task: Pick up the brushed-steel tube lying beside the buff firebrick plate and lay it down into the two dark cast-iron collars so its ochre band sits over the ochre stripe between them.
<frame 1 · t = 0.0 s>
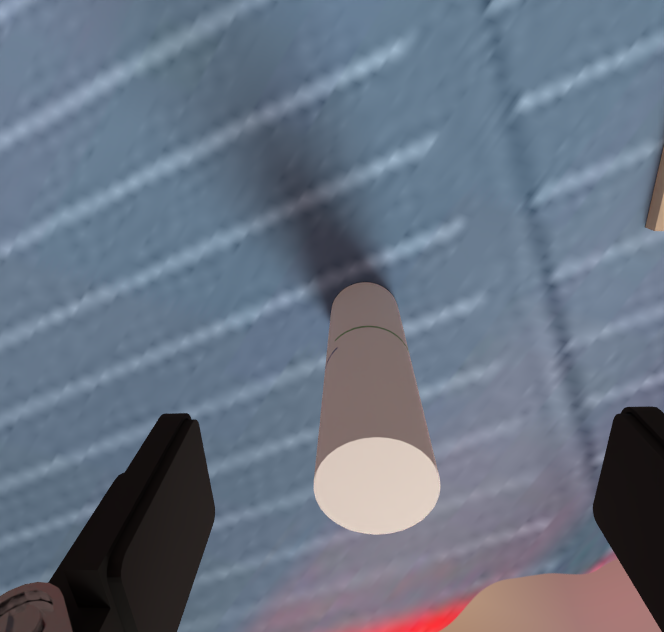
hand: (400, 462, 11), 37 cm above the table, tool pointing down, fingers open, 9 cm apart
cylindrical container: (364, 313, 49), on the table
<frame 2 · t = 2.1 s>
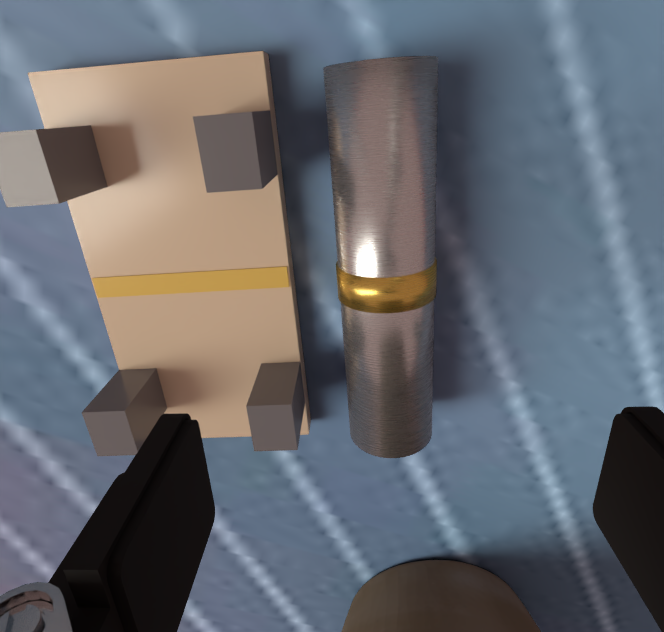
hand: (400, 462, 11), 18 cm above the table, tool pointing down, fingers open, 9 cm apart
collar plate: (198, 273, 28), on the table
tube: (383, 262, 27), on the table
plant pot: (429, 612, 40), on the table
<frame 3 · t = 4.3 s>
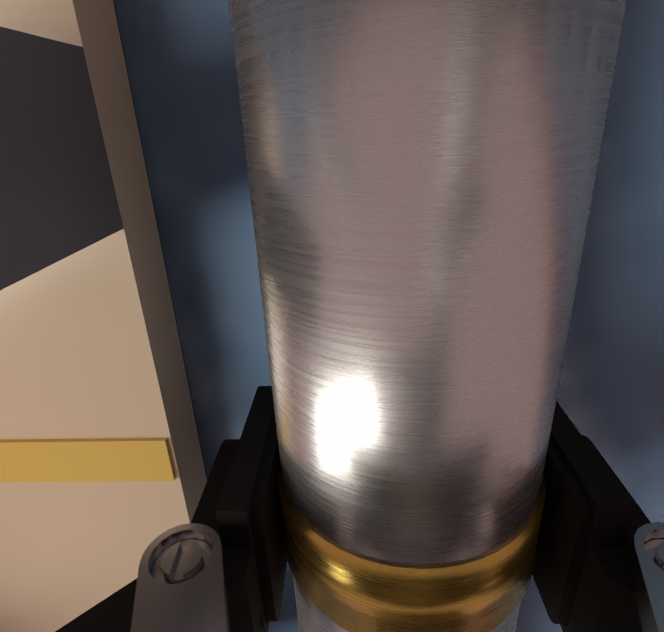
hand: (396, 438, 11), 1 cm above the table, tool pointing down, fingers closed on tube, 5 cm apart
tube: (395, 419, 12), on the table, touching gripper
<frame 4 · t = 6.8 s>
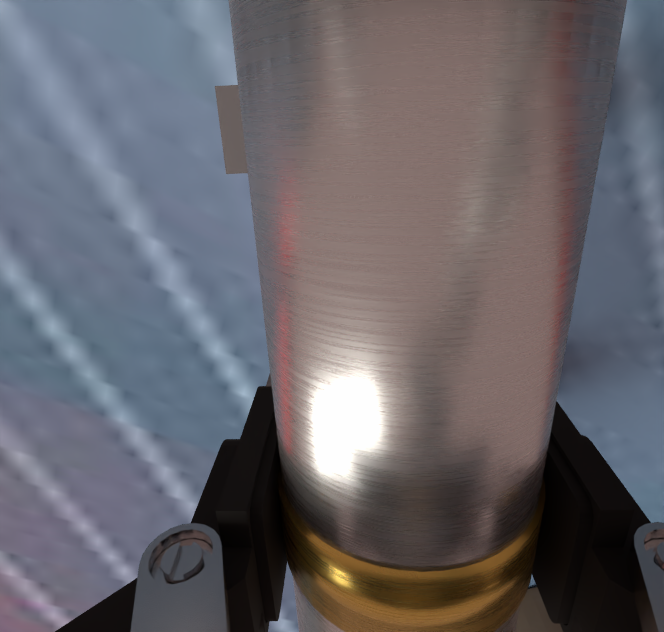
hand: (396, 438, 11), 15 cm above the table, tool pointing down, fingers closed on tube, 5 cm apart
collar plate: (371, 262, 25), on the table
tube: (395, 421, 12), point 14 cm above the table, touching gripper
when the fingers open (4 cm above the table, at t = 9.5 s): tube drops 1 cm, resting on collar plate.
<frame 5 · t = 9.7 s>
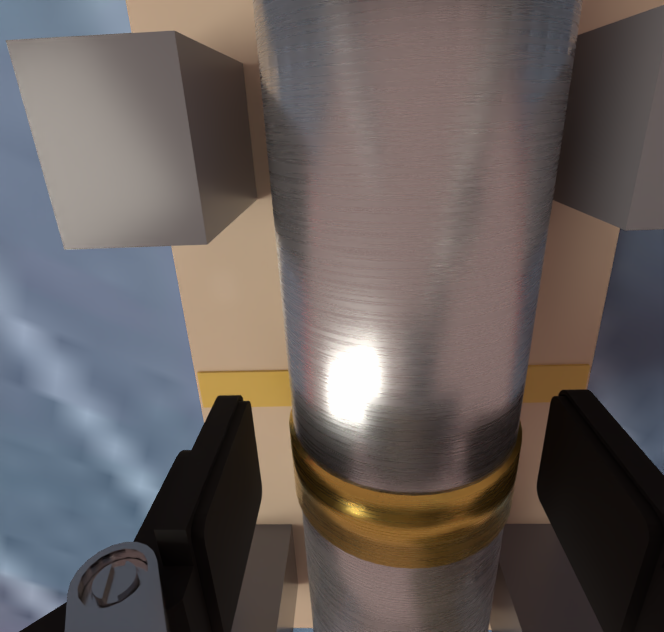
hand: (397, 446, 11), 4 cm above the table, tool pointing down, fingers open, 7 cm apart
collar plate: (385, 360, 15), on the table
tube: (393, 386, 13), point 2 cm above the table, touching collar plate
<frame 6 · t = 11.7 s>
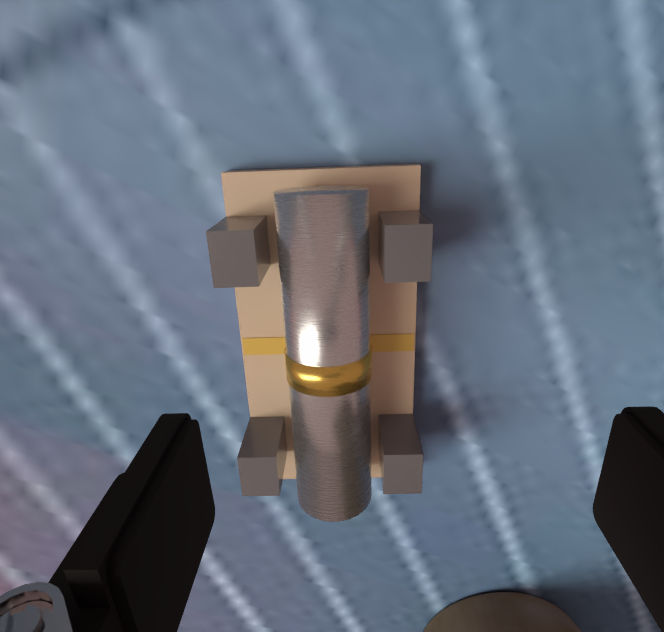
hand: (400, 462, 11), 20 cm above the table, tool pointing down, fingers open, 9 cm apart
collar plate: (328, 334, 32), on the table
tube: (329, 343, 30), point 2 cm above the table, touching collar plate
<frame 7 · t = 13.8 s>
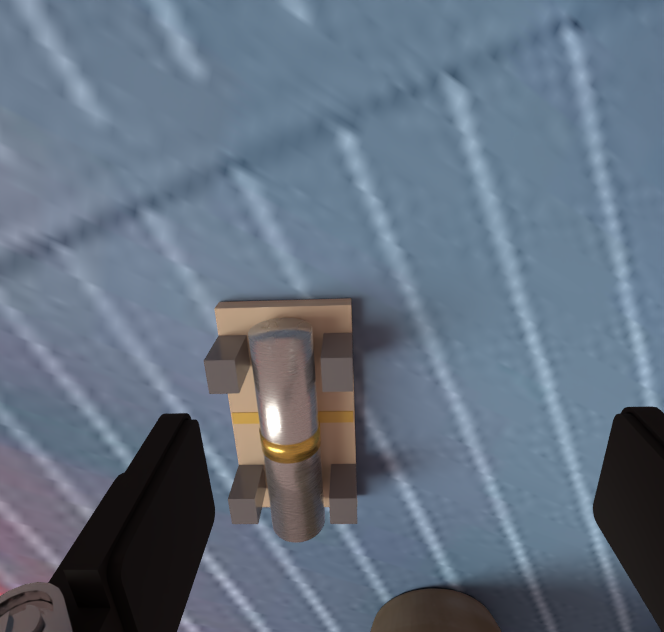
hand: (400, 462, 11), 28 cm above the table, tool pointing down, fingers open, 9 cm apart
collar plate: (294, 407, 44), on the table
tube: (293, 417, 42), point 2 cm above the table, touching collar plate
plant pot: (429, 625, 56), on the table
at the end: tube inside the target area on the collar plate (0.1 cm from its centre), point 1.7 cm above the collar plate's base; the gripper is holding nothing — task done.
